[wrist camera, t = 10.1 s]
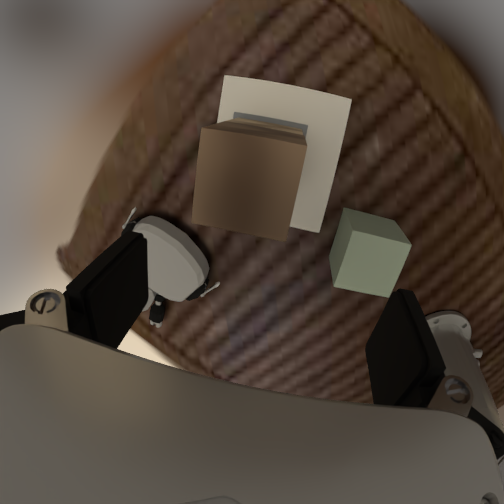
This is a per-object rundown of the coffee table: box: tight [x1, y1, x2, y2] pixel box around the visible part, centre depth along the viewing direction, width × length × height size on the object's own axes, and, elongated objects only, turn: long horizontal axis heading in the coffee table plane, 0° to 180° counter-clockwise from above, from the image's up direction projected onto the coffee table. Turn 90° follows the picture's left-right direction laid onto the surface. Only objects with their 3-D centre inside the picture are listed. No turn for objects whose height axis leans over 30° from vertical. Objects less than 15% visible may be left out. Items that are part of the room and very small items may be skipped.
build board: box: [217, 75, 352, 233], centre depth 28 cm, size 12×14×1 cm
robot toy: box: [121, 208, 220, 327], centre depth 36 cm, size 12×4×15 cm
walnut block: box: [191, 121, 307, 242], centre depth 20 cm, size 6×6×6 cm
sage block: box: [329, 208, 412, 298], centre depth 29 cm, size 6×6×6 cm
